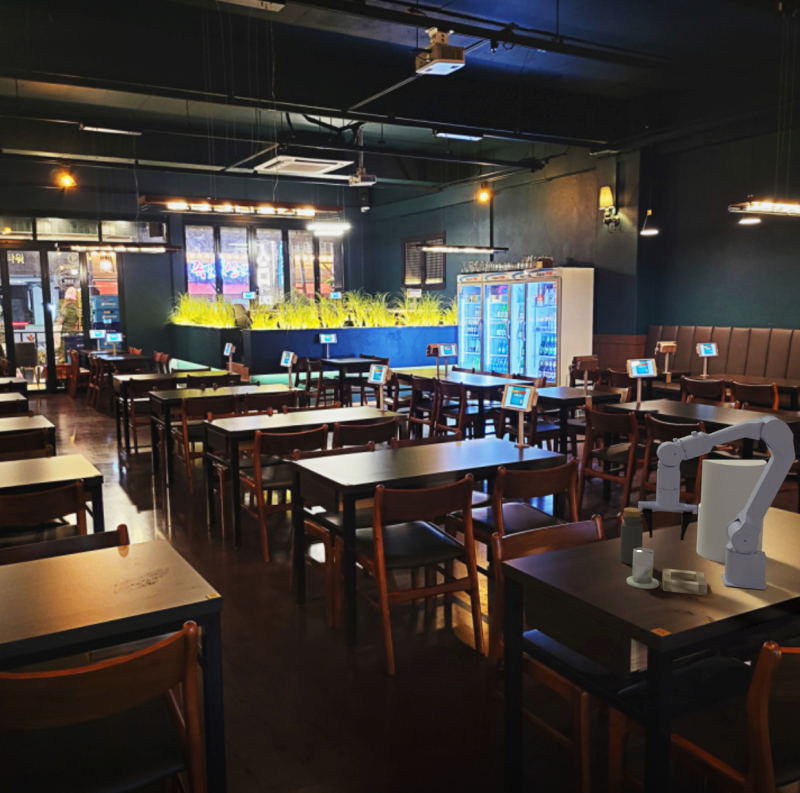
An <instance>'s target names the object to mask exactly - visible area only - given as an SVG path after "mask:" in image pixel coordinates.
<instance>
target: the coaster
mask: <svg viewBox="0 0 800 793" xmlns="http://www.w3.org/2000/svg"><path fill="white" fill-rule="evenodd" d="M626 584H627V585H629V586H631V587H634V588H637V589H645V590H648V589H649V590H652V589H653V590H654V589H656V588H658V587H659V586H660V581H659V580H657V579H656V578H653V579H652V583H650V584H640V583H636V582H634V581H633V580H632V575H631V576H628V577H627V578H626Z"/></svg>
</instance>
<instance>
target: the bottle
mask: <svg viewBox="0 0 800 793" xmlns="http://www.w3.org/2000/svg"><path fill="white" fill-rule="evenodd" d="M623 512H624V514H623V515H622V519H623V520H624V521H623V522H622V523H621V526H620V551H619V554H620V555H619V560H620V562H621V563H622V564H626V565H632V566H633V549H634V548H643V537H644V536H643V532H644V530H643V529H644V526H643V524H642V523H640V522H642V520H643V517H642V515H641V514H642V510H638V508H637V507H625V508H623Z"/></svg>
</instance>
